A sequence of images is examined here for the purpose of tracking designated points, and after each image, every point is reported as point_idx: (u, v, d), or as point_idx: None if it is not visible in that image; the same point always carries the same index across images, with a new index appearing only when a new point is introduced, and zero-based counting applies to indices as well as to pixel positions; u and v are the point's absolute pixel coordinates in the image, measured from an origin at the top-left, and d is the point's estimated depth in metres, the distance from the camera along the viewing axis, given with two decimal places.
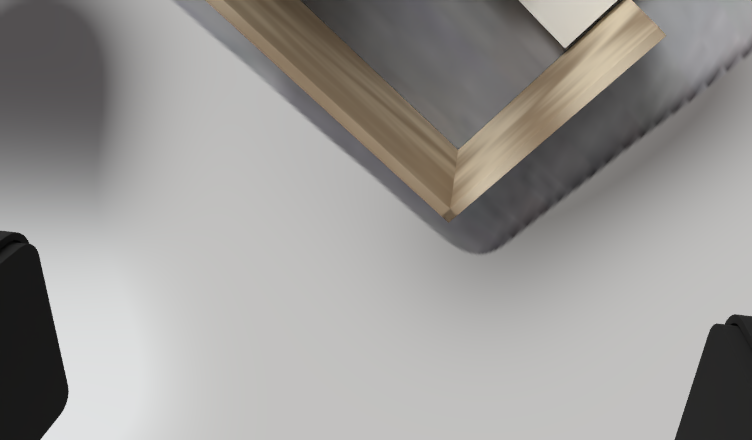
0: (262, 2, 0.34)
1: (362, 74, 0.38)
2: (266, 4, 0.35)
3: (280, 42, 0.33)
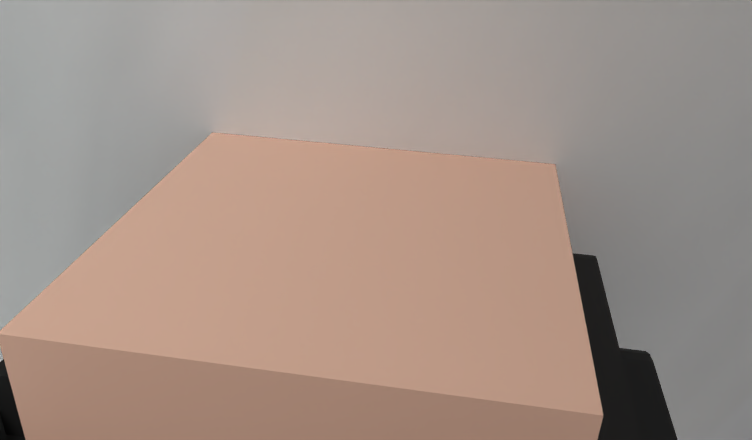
0: None
1: None
2: None
3: None
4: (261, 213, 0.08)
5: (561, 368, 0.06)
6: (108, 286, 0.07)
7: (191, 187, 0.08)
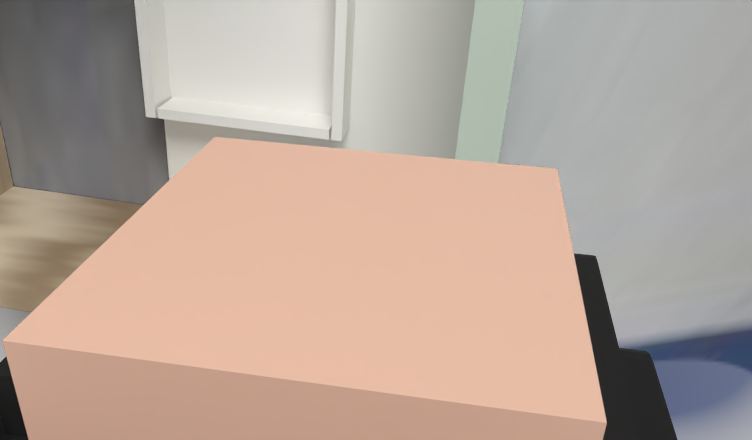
0: None
1: None
2: None
3: None
4: (265, 219, 0.08)
5: (565, 375, 0.06)
6: (113, 292, 0.07)
7: (194, 192, 0.09)
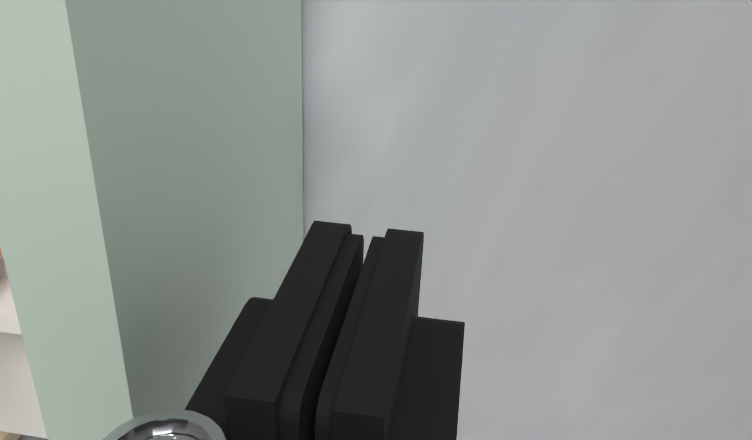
0: None
1: None
2: None
3: None
4: None
5: None
6: None
7: None
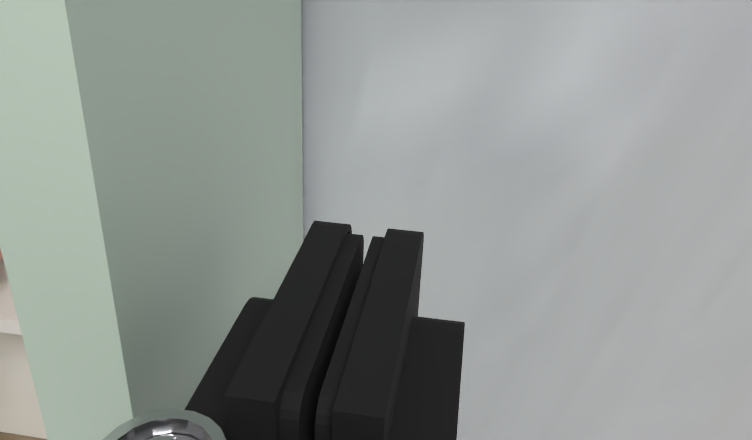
0: None
1: None
2: None
3: None
4: None
5: None
6: None
7: None
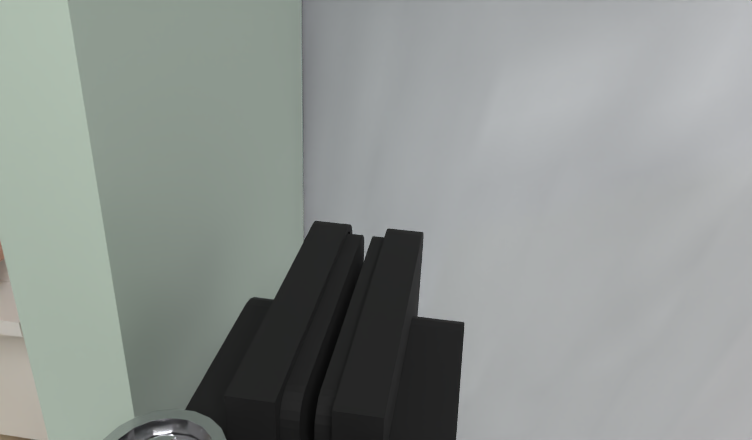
0: None
1: None
2: None
3: None
4: None
5: None
6: None
7: None
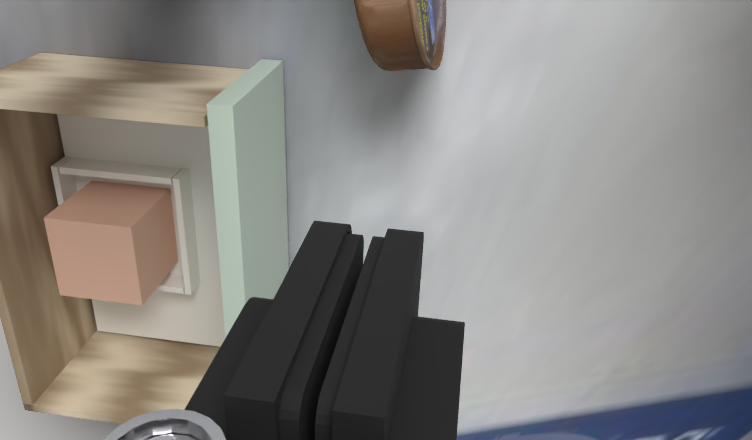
0: (21, 175, 0.38)
1: None
2: (24, 177, 0.38)
3: (1, 229, 0.37)
4: (94, 199, 0.39)
5: (130, 222, 0.37)
6: (61, 211, 0.38)
7: (81, 194, 0.40)
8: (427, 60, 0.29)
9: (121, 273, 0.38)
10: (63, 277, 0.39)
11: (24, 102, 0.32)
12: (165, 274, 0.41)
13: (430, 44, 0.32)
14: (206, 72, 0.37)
